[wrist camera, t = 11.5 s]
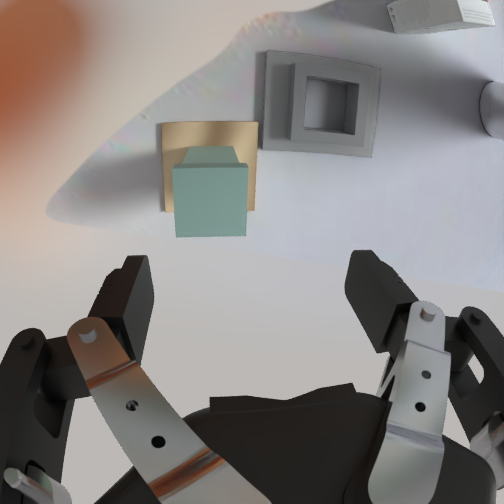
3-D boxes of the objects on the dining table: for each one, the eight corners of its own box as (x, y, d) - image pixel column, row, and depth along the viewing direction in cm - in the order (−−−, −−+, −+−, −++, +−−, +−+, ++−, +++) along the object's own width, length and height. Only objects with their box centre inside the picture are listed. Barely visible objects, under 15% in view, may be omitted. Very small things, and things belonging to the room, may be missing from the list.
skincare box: (394, 34, 25) (463, 25, 15) (383, 2, 23) (448, -18, 12) (430, 34, 25) (498, 30, 14) (420, 4, 23) (485, -9, 12)
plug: (236, 142, 30) (248, 167, 20) (235, 189, 33) (245, 235, 23) (186, 143, 29) (172, 168, 19) (187, 190, 32) (176, 237, 22)
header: (376, 69, 27) (389, 68, 25) (367, 156, 33) (380, 161, 30) (266, 51, 26) (271, 46, 23) (261, 148, 31) (266, 153, 29)
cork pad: (257, 121, 30) (258, 122, 29) (253, 208, 35) (254, 210, 34) (162, 123, 28) (161, 123, 28) (166, 210, 33) (165, 212, 33)
